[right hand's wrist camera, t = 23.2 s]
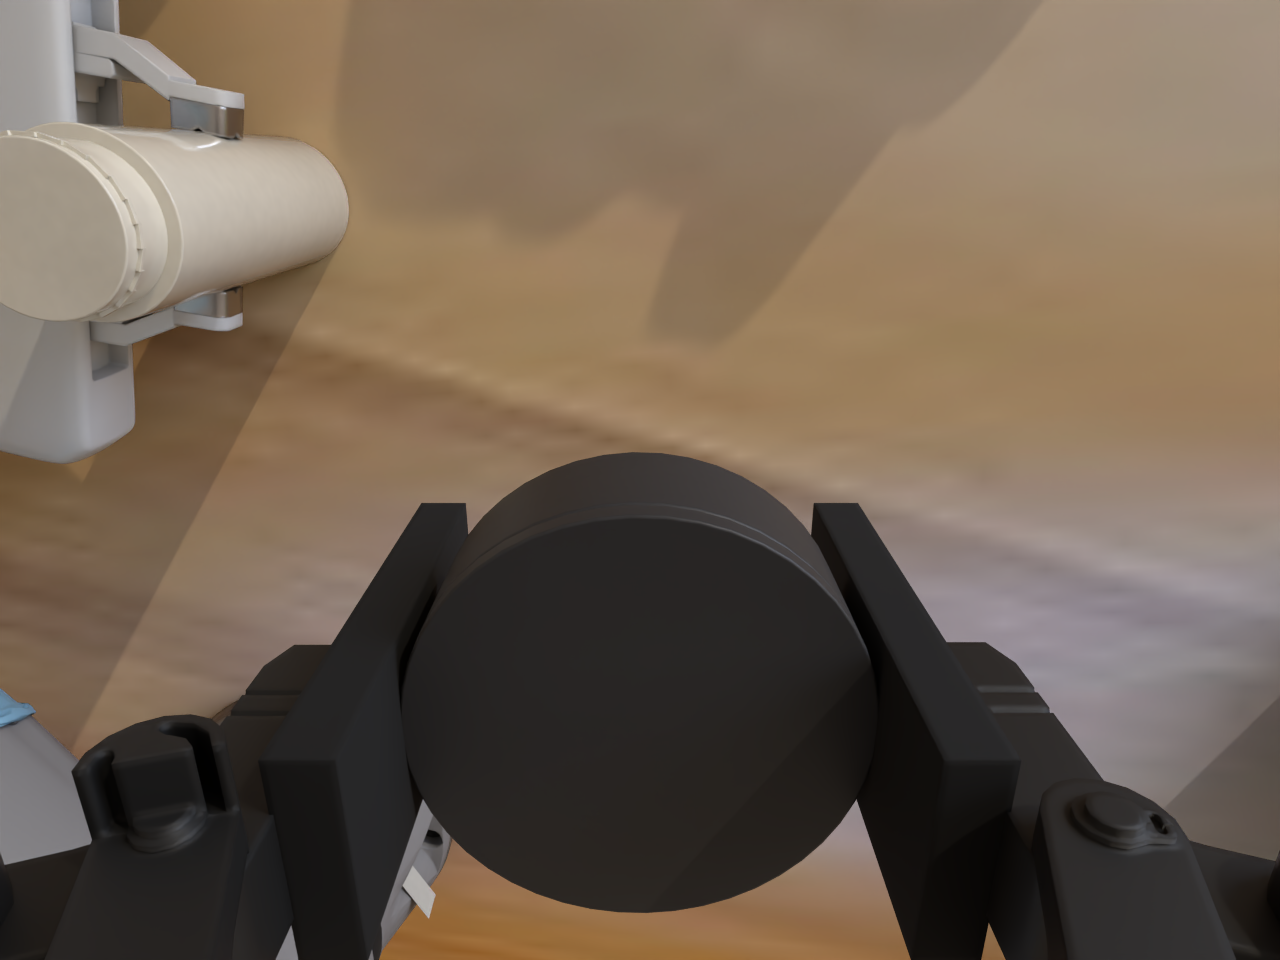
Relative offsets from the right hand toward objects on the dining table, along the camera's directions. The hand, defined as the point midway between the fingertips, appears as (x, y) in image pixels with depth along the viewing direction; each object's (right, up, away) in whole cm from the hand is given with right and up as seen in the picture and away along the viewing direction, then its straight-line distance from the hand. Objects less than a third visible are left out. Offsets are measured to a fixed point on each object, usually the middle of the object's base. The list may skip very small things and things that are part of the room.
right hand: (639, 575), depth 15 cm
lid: (0, -1, -4) cm, 4 cm away
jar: (-15, +14, +21) cm, 29 cm away
